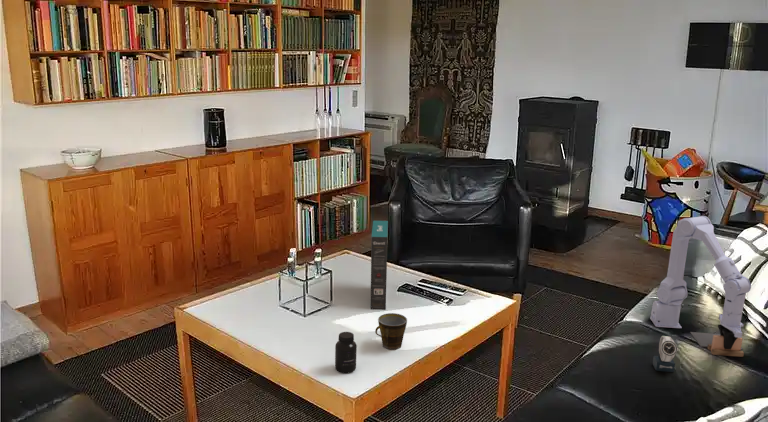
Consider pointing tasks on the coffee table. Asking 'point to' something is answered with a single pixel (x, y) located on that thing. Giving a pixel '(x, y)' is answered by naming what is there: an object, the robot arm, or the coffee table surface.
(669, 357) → the watch
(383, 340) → the ceramic cup
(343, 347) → the supplement bottle
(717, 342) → the tile
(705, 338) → the mat
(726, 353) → the rack
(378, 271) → the cake mix box
